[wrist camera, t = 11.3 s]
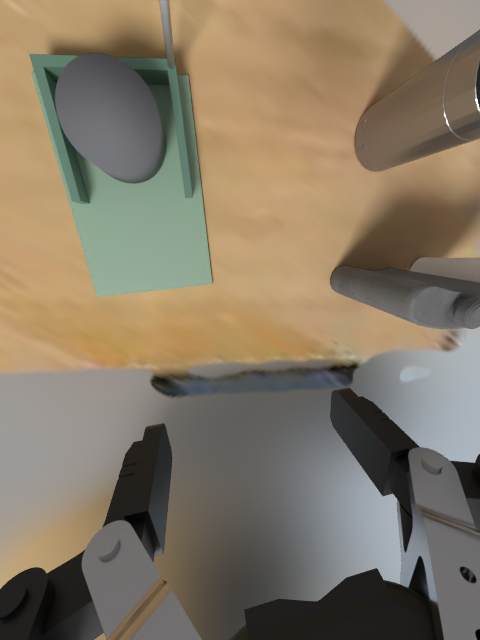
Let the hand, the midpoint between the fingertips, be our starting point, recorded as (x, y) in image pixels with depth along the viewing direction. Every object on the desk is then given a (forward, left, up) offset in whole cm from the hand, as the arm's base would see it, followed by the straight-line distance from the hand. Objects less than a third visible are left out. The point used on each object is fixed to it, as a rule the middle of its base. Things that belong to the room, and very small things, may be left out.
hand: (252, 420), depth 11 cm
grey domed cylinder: (+8, -21, -31) cm, 38 cm away
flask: (-30, +3, -32) cm, 44 cm away
